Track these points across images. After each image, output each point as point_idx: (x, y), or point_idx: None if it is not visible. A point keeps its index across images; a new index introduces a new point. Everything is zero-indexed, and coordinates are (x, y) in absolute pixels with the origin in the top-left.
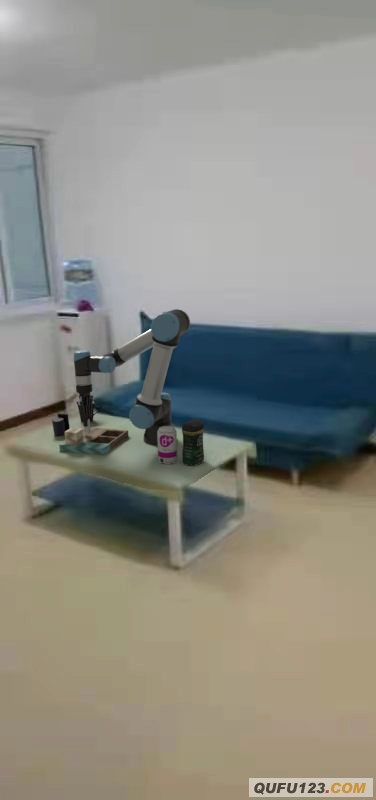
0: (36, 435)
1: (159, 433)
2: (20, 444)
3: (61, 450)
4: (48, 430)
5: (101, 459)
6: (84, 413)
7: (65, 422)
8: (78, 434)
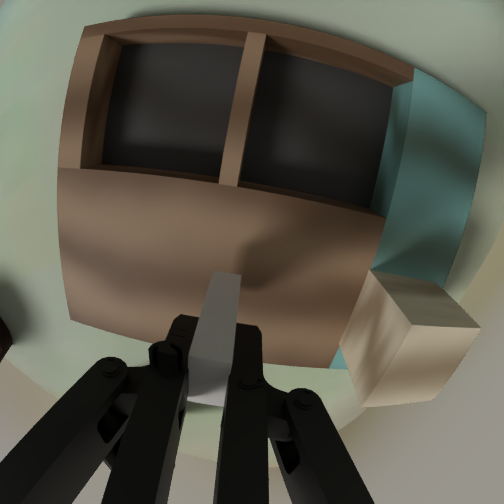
0: (190, 447)
1: None
2: None
3: None
4: None
5: (498, 122)
6: (340, 469)
7: None
8: (452, 314)
